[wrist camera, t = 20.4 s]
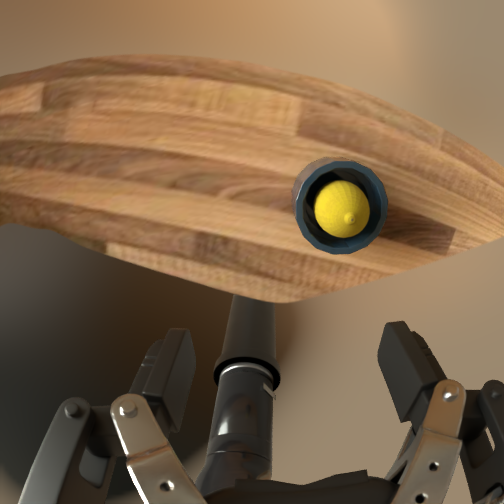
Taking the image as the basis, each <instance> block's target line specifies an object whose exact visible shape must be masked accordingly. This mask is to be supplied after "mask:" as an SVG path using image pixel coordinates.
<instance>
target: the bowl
mask: <svg viewBox="0 0 504 504" xmlns="http://www.w3.org/2000/svg"><path fill="white" fill-rule="evenodd" d="M334 180H344V181H348V182H351V183H353V184H354V185H356V186H358V187H359V188H360V189H361V190H362V191H363V193H364V195H365V196H366V198H367V200H368V204H369V208H370V215H369V219H368V222H367V224H366V226H365V227H364V228H363V230H362V231H361V232H359V233H358V234H356V235H354V236H352V237H346V238H342V237H336V236H333V235H331V234H329V233H328V232H326V231H325V230H323V228H322V227H321V226H320V225H319V224H318V222H317V220H316V218H315V215H314V210H313V203H314V198H315V195H316V194H317V192H318V190H319V189H320V188H321V187H322V186H323V185H325V184H326V183H328V182H330V181H334ZM387 208H388V199H387V196H386V192H385V189H384V186H383V184H382V182H381V181H380V180H379V178H378V177H377V176H376V175H375V174H374V173H373V171H372V170H370V169H369V168H367V167H365V166H363V165H361V164H359V163H357V162H354V161H352V160H349V159H346V158H343V157H323V158H321V159H318V160H316V161H314V162H311V163H310V164H308V165H307V166H306V167H305V168H304V169H303V170H302V171H301V172H300V174H299V175H298V176H297V178H296V181H295V183H294V186H293V189H292V209H293V212H294V215H295V218H296V221H297V223H298V225H299V228H300V230H301V232H302V234H303V236H304V238H306V239H307V240H308V241H309V242H310V243H311V244H312V245H313V246H314V247H315V248H317V249H319V250H322V251H325V252H328V253H330V254H351V253H353V252H355V251H358V250H360V249H362V248H365V247H367V246H368V245H369V244H370V243H371V242H372V241H373V240H374V239H375V238H376V237H377V236H378V235H379V233H380V231H381V229H382V227H383V225H384V223H385V221H386V218H387Z"/></svg>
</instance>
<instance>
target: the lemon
mask: <svg viewBox="0 0 504 504" xmlns="http://www.w3.org/2000/svg"><path fill="white" fill-rule="evenodd" d="M313 210H314V215H315V218H316V220H317V222H318V224H319V225H320V226H321V227H322V228H323V230H325V231H326V232H328V233H329V234H331V235H333V236H336V237H342V238H346V237H352V236H354V235H356V234H358V233H359V232H361V231H362V230H363V228H364V227H365V226H366V224H367V222H368V219H369V215H370V208H369V204H368V200H367V198H366V196H365V195H364V193H363V191H362V190H361V189H360V188H359V187H358V186H356V185H354V184H353V183H351V182H348V181H344V180H334V181H330V182H328V183H326V184H325V185H323V186H322V187H321V188H320V189H319V190H318V192H317V194H316V195H315V198H314V203H313Z"/></svg>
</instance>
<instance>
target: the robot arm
mask: <svg viewBox="0 0 504 504" xmlns="http://www.w3.org/2000/svg"><path fill="white" fill-rule="evenodd" d="M378 363H379V366H380V368H381V371H382V373H383V376H384V379H385V381H386V384H387V386H388V389H389V391H390V394H391V397H392V400H393V402H394V405H395V408H396V411H397V413H398V416H399V419H400V422H401V423H402V422H406V421H411V423H412V426H411V427H410V430H409V432H408V434H407V437H406V439H405V441H404V443H403V446H402V448H401V450H400V452H399V454H398V456H397V459H396V461H395V463H394V464H393V466H392V468H391V469H390V471H389V472H388V474H387V475H386V477H385V478H384V479H383V478H379V477H372V476H368V475H367V470H361V471H355V472H349V473H343V474H336V475H334V476H331V477H328V478H325V479H322V480H319V481H316V482H313V483H310V484H306V485H297V484H290V483H284V482H279V481H273V480H271V476H272V424H273V422H272V420H273V418H272V417H273V398H274V399H276V395H275V394H274V393H273V376H272V374H271V372H270V371H269V370H268V369H266V368H265V367H263V366H261V365H259V364H255V363H250V362H239V363H234V364H231V365H229V366H227V367H226V368H224V369H223V370H222V372H221V374H220V380H219V388H218V394H217V399H216V404H215V410H214V415H213V421H212V427H211V432H210V438H209V444H208V449H207V455H206V460H205V465H204V467H203V469H202V470H201V472H200V473H199V475H198V477H197V479H196V482H195V484H194V482H193V481H192V480H191V478H190V476H189V475H188V473H187V472H186V470H185V469H184V467H183V466H182V464H181V462H180V461H179V459H178V457H177V456H176V454H175V452H174V451H173V449H172V447H171V446H170V444H169V442H168V441H167V439H168V435H169V432H177V433H179V429H180V425H181V422H182V418H183V414H184V410H185V406H186V402H187V398H188V395H189V391H190V387H191V383H192V379H193V376H194V372H195V367H196V358H195V353H194V348H193V344H192V340H191V335H190V331H189V329H179V328H170V329H169V331H168V333H167V335H166V337H165V340H157V341H156V342H155V343H154V344H153V345H152V346H151V347H149V350H148V352H147V354H146V356H145V358H144V360H143V362H142V366H140V369H139V371H138V373H137V375H136V377H135V380H134V382H133V384H132V386H131V389H130V391H129V393H128V394H126V395H122V396H120V397H119V398H117V399H116V400H115V401H114V402H113V403H112V405H108V406H93V407H91V406H90V405H89V404H88V402H87V401H86V400H85V399H83V398H80V397H73V398H70V399H67V400H66V401H64V402H63V403H62V404H61V405H60V407H59V409H58V411H57V413H56V415H55V417H54V419H53V421H52V423H51V425H50V427H49V429H48V431H47V434H46V436H45V438H44V440H43V442H42V445H41V447H40V449H39V451H38V454H37V456H36V458H35V461H34V463H33V465H32V468H31V470H30V473H29V476H28V478H27V481H26V483H25V486H24V489H23V491H22V494H21V497H20V500H19V503H18V504H105V500H106V496H107V492H108V488H109V485H110V481H111V477H112V473H113V470H114V466H115V463H116V459H117V456H127V460H126V464H127V467H128V470H129V472H130V474H131V476H132V478H133V481H134V483H135V485H136V487H137V489H138V491H139V493H140V495H141V497H142V499H143V500H144V503H145V504H442V503H443V500H444V498H445V495H446V493H447V490H448V487H449V485H450V482H451V479H452V476H453V473H454V470H455V467H456V464H457V461H458V457H459V455H460V459H461V462H462V465H463V469H464V472H465V475H466V479H467V483H468V486H469V490H470V494H471V498H472V503H473V504H504V384H503V383H502V382H500V381H498V380H490V381H488V382H486V383H485V384H484V386H483V388H482V389H481V390H465V389H464V387H463V386H462V385H461V384H460V383H459V382H457V381H455V380H451V379H447V377H446V375H445V374H444V372H443V370H442V368H441V367H440V365H439V363H438V361H437V360H436V358H435V356H434V355H433V354H432V351H431V350H430V348H428V345H427V343H426V342H425V340H424V338H423V337H421V336H420V335H419V334H417V333H416V332H415V331H413V332H411V331H410V329H409V328H408V326H407V324H406V323H405V322H404V321H397V322H389V323H386V325H385V327H384V331H383V335H382V338H381V342H380V345H379V349H378ZM487 427H488V429H489V431H490V433H491V436H492V438H493V441H494V444H495V449H494V451H493V449H492V446H491V443H490V441H489V438H488V436H487V434H486V431H485V429H486V428H487Z"/></svg>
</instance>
